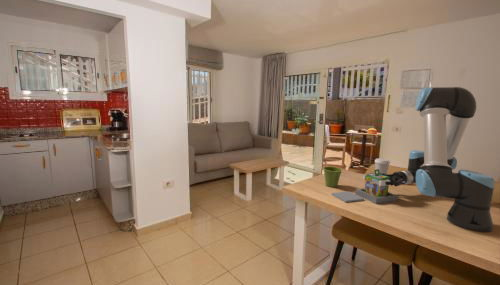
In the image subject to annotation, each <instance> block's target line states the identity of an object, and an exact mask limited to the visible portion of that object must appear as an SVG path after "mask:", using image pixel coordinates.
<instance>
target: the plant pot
mask: <svg viewBox="0 0 500 285" xmlns="http://www.w3.org/2000/svg"><path fill="white" fill-rule="evenodd" d="M322 169H323V172H324V182H325V186H327V187H331V188H337V187H338V185H339V180H340V177H341V175H342V172H343V169H342V168H340V167H336V166H324V167H322Z"/></svg>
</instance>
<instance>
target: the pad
mask: <svg viewBox="0 0 500 285" xmlns="http://www.w3.org/2000/svg"><path fill="white" fill-rule="evenodd" d="M331 195H332V196H333V197H335V198H336V199H339V200H340V201H342V202H343V203H354V202H360V201H361V202H363V201H365V198H363V197H361V196H358V195H356V194H355V193H354V192H351V191H338V192H332V193H331Z"/></svg>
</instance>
